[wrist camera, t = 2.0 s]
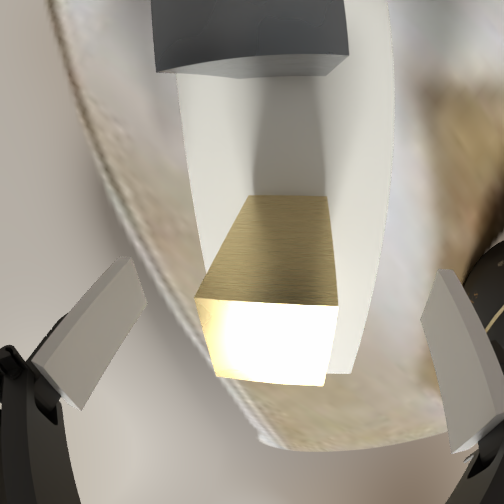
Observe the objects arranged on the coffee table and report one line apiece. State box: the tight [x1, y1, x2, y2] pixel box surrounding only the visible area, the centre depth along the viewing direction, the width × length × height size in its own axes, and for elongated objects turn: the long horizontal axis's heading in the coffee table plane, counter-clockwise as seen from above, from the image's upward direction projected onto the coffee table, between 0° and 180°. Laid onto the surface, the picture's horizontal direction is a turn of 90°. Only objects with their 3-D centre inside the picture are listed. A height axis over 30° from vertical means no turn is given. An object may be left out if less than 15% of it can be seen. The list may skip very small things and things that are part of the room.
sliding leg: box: [194, 195, 338, 386], centre depth 12 cm, size 4×4×8 cm
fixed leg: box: [151, 0, 349, 79], centre depth 7 cm, size 4×4×9 cm
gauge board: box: [176, 0, 395, 374], centre depth 17 cm, size 28×11×2 cm, turn 4°
